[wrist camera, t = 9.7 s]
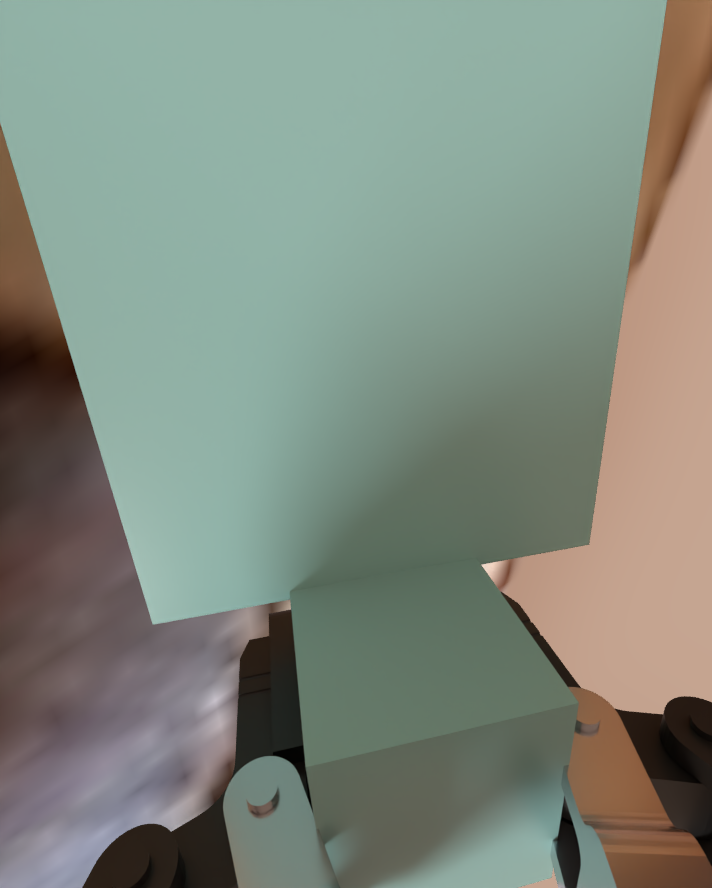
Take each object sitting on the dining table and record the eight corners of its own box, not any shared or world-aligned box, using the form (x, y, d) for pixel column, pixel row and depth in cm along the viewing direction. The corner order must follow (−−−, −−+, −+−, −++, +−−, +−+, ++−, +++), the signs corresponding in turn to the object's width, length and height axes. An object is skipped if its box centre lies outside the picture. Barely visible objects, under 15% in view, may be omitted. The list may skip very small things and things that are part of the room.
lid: (-97, -298, 5) (-1267, -2101, 1) (659, -235, 7) (1279, -990, 3) (200, 735, 12) (170, 989, 8) (551, 659, 13) (681, 839, 9)
